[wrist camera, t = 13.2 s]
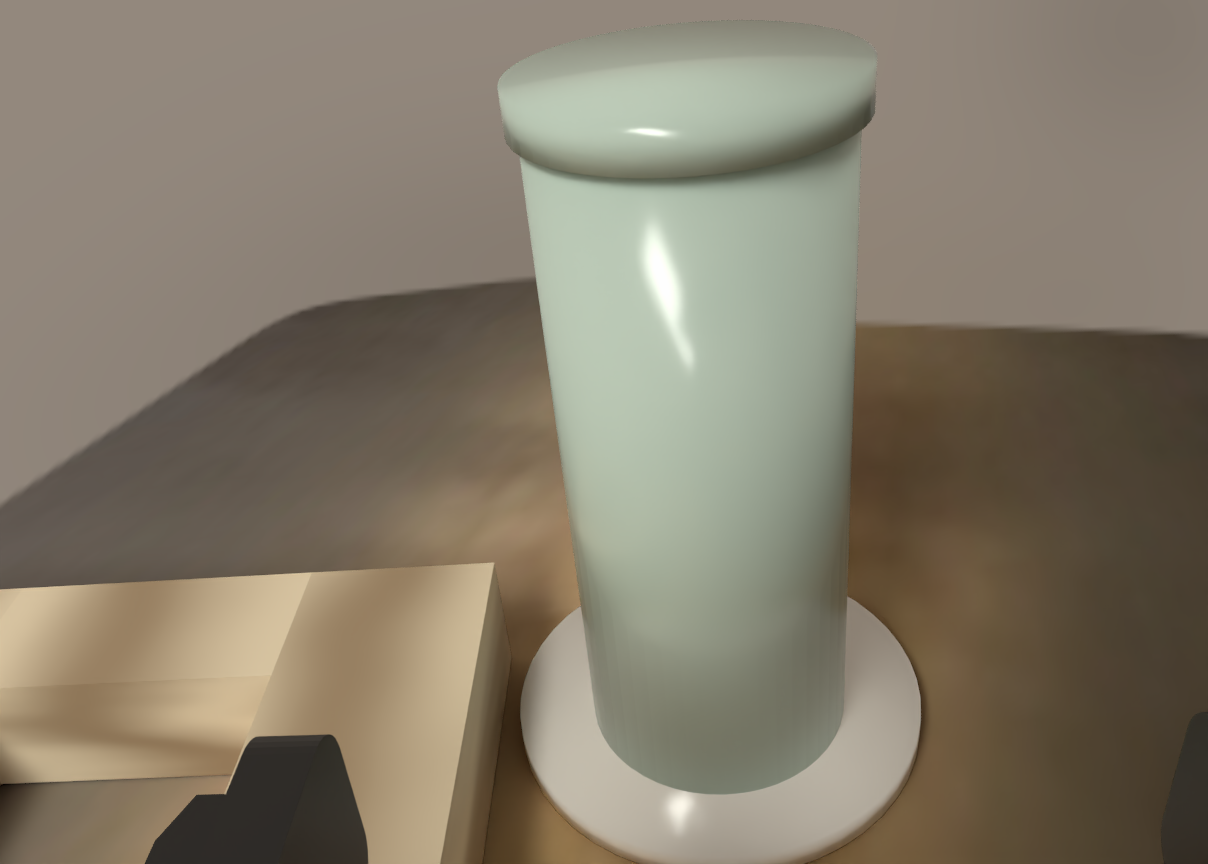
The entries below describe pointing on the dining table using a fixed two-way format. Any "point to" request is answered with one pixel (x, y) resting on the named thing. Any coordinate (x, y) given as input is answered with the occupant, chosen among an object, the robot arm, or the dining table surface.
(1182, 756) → the robot arm
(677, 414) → the mint green tumbler
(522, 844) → the dining table surface
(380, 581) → the wooden square frame
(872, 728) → the saucer
